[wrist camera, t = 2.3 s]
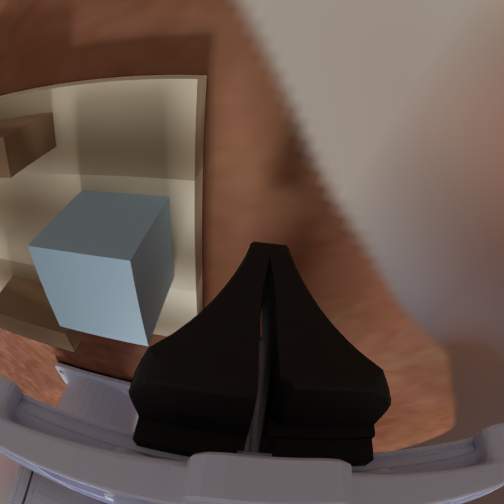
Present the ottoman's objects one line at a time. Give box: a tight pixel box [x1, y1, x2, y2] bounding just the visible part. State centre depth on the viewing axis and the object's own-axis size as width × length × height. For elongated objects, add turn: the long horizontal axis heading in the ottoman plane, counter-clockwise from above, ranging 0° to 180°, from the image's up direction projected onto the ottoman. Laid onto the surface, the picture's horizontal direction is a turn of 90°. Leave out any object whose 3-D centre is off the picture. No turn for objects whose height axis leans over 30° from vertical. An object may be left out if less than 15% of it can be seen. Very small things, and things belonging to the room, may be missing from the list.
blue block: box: [28, 191, 174, 346], centre depth 12 cm, size 4×4×4 cm
